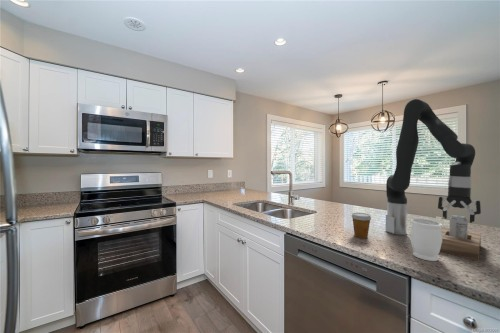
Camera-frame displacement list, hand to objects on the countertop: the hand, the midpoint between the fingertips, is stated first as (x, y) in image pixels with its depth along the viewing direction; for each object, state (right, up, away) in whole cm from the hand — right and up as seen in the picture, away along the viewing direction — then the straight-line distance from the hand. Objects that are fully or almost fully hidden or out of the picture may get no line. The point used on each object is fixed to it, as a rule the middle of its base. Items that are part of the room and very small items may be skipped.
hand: (457, 220), depth 100 cm
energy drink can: (+1, -13, +1) cm, 13 cm away
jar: (-23, -13, -10) cm, 28 cm away
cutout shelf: (0, -13, 0) cm, 13 cm away
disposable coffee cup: (-37, -13, +15) cm, 43 cm away
